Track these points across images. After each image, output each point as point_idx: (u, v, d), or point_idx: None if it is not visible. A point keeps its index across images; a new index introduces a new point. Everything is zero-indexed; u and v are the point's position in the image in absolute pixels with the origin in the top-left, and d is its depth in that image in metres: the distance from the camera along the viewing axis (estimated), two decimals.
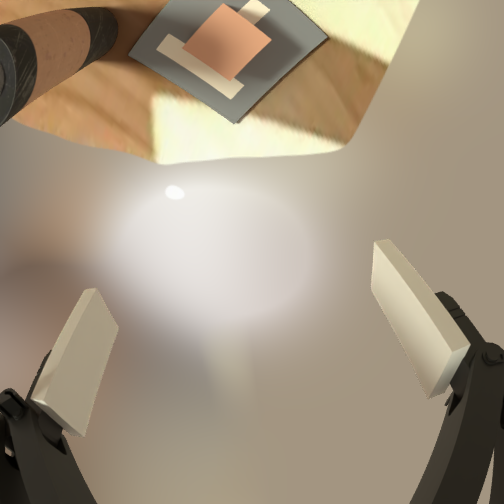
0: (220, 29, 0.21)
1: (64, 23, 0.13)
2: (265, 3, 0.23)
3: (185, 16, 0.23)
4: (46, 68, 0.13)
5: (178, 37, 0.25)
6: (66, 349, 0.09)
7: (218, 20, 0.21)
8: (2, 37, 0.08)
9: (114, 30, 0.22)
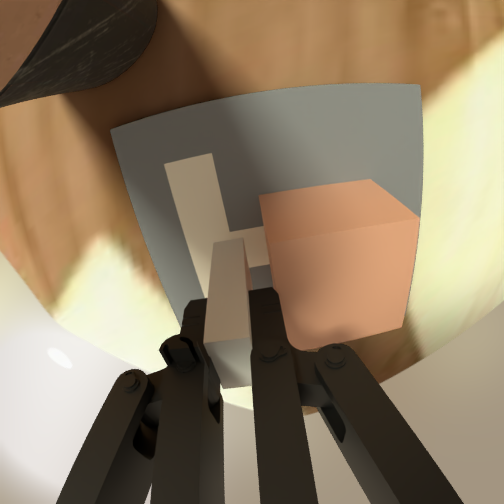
0: (367, 263, 0.11)
1: None
2: None
3: (268, 147, 0.13)
4: None
5: (221, 176, 0.14)
6: None
7: (381, 244, 0.11)
8: None
9: (128, 57, 0.10)
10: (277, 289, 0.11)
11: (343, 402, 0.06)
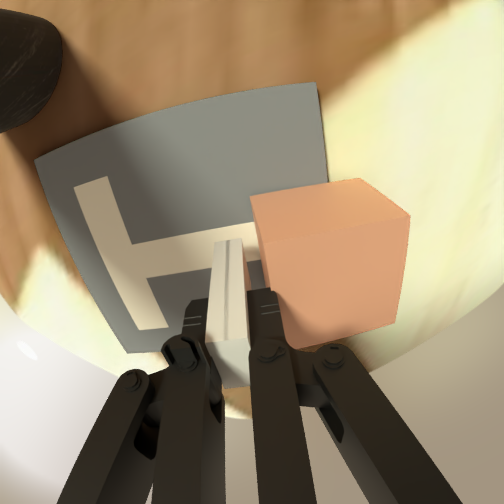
0: (360, 261, 0.11)
1: None
2: None
3: (152, 166, 0.14)
4: None
5: (117, 195, 0.15)
6: None
7: (373, 242, 0.11)
8: None
9: (35, 101, 0.11)
10: (272, 289, 0.12)
11: (341, 402, 0.06)
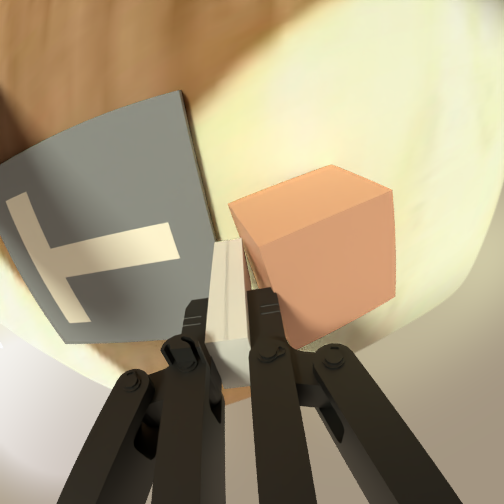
0: (353, 243, 0.12)
1: None
2: (179, 243, 0.17)
3: (55, 183, 0.14)
4: None
5: (34, 207, 0.15)
6: None
7: (362, 222, 0.11)
8: None
9: None
10: (274, 290, 0.11)
11: (341, 403, 0.06)
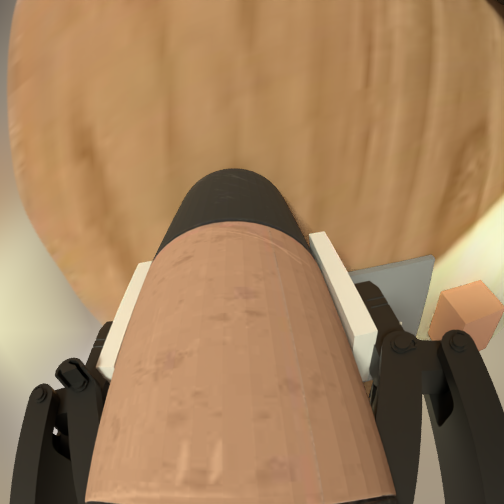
0: (486, 325, 0.21)
1: None
2: None
3: None
4: None
5: None
6: (130, 317, 0.11)
7: (492, 318, 0.21)
8: None
9: None
10: None
11: (459, 383, 0.06)
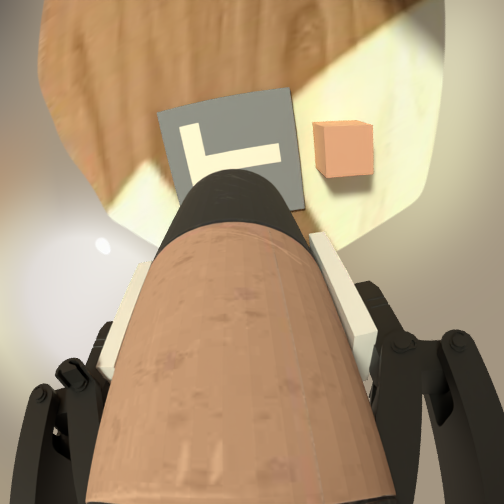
0: (355, 139, 0.30)
1: None
2: (282, 154, 0.35)
3: (220, 119, 0.32)
4: None
5: (202, 132, 0.33)
6: (130, 317, 0.11)
7: (359, 132, 0.30)
8: None
9: None
10: (325, 144, 0.31)
11: (459, 383, 0.06)
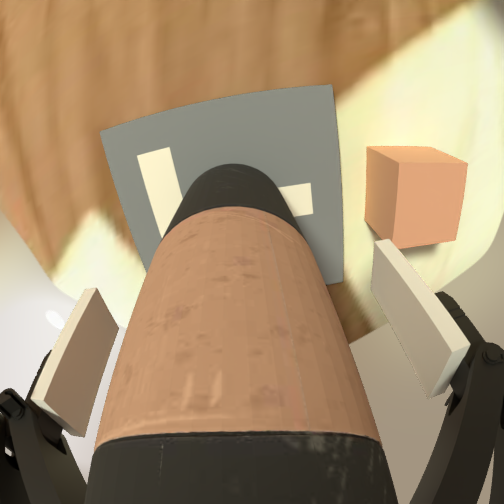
0: (442, 186, 0.16)
1: None
2: (315, 201, 0.21)
3: (209, 141, 0.18)
4: None
5: (176, 163, 0.19)
6: (66, 349, 0.09)
7: (449, 175, 0.16)
8: None
9: None
10: (397, 195, 0.16)
11: None
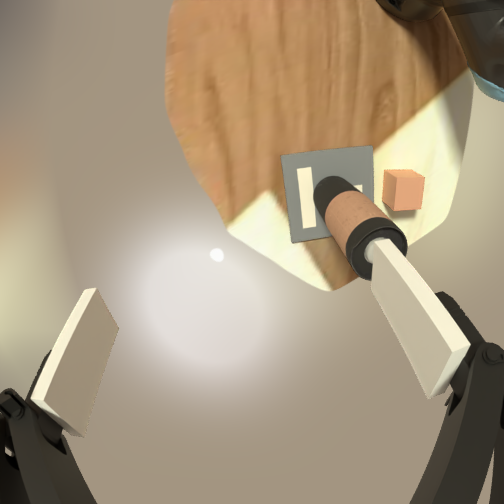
0: (413, 186, 0.44)
1: None
2: (363, 192, 0.49)
3: (326, 166, 0.47)
4: None
5: (312, 173, 0.47)
6: (66, 349, 0.09)
7: (416, 182, 0.44)
8: (405, 254, 0.32)
9: None
10: (396, 189, 0.45)
11: None
